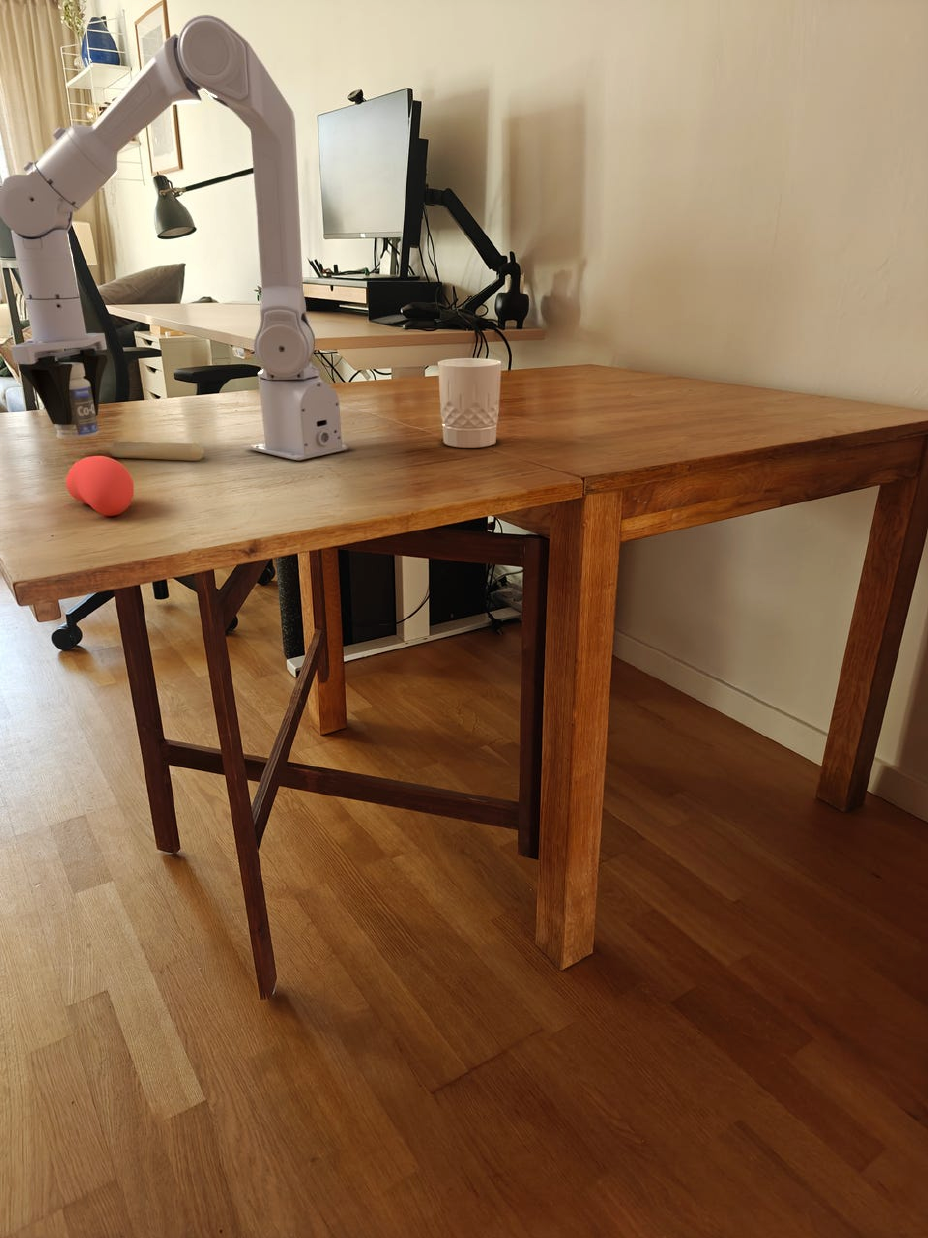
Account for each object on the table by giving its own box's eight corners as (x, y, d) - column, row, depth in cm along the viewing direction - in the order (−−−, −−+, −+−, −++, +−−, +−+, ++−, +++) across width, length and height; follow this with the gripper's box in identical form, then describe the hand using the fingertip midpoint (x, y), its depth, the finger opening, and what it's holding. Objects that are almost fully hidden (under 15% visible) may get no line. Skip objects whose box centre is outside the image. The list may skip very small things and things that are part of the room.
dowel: (208, 456, 99) (204, 440, 98) (200, 464, 98) (196, 448, 97) (116, 452, 102) (112, 437, 100) (108, 459, 100) (103, 444, 99)
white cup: (506, 438, 109) (507, 358, 105) (492, 451, 102) (493, 366, 98) (449, 434, 111) (448, 357, 107) (431, 447, 104) (429, 364, 100)
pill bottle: (89, 440, 98) (75, 366, 95) (49, 440, 98) (34, 366, 95) (105, 432, 103) (93, 361, 99) (68, 432, 103) (54, 361, 99)
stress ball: (139, 506, 86) (103, 452, 84) (152, 494, 78) (112, 434, 76) (93, 532, 84) (55, 477, 82) (102, 522, 76) (59, 461, 74)
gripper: (60, 294, 101) (82, 407, 107) (-25, 301, 88) (4, 430, 94) (113, 294, 100) (132, 409, 106) (34, 302, 87) (61, 432, 93)
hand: (75, 419), depth 100 cm, fingers closed on pill bottle, 5 cm apart
